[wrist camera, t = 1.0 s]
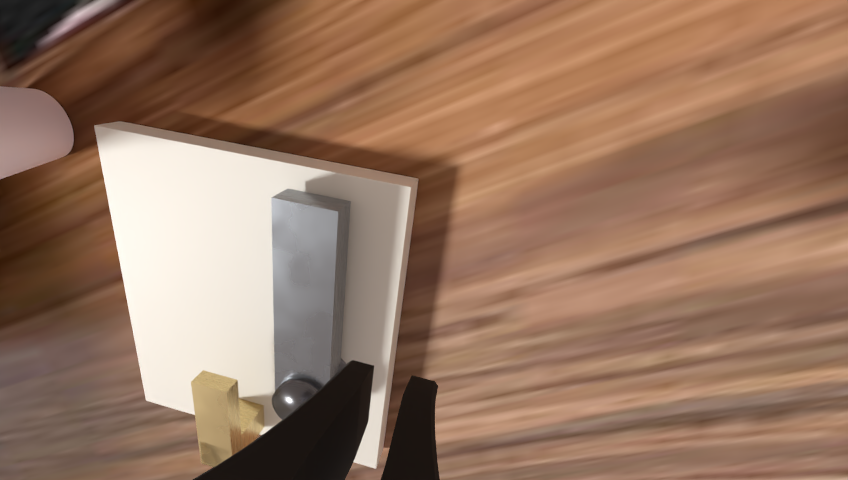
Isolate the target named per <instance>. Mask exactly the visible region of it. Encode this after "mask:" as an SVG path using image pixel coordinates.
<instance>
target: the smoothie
mask: <svg viewBox="0 0 848 480" xmlns="http://www.w3.org/2000/svg"><path fill="white" fill-rule="evenodd" d="M73 142H74V134H73V129H72V125H71V122H70V120H69V118H68V116H67V114H66V112H65V111H64V109H63V108H62V107H61V105H60V104H59V103H58V102H57V101H56V100H55V99H54V98H53V97H51V96H50V95H49V94H47V93H45V92H43V91H41V90H38V89H31V88H15V87H0V179H2V178H5V177H8V176H11V175H13V174H16V173H19V172H22V171H25V170H28V169H30V168H33V167H36V166H39V165H42V164H45V163H47V162H50V161H53V160H56V159H59V158H62V157H64V156H66V155H67V154H68V153H69V152H70V151H71V149H72V147H73Z"/></svg>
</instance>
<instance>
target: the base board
mask: <svg viewBox="0 0 848 480" xmlns="http://www.w3.org/2000/svg"><path fill="white" fill-rule="evenodd" d="M94 128H95V133H96V139H97V144H98V149H99V154H100V160H101V165H102V170H103V176H104V181H105V186H106V191H107V197H108V202H109V207H110V213H111V218H112V223H113V228H114V234H115V239H116V244H117V249H118V255H119V260H120V265H121V271H122V276H123V281H124V286H125V292H126V297H127V302H128V308H129V313H130V318H131V323H132V329H133V334H134V339H135V344H136V350H137V355H138V360H139V366H140V371H141V376H142V381H143V387H144V392H145V397H146V401H150V402H153V403H157V404H160V405H163V406H167V407H170V408H173V409H177V410H180V411H183V412H187V413H190V414H194V415H195V411H194V403H193V395H192V387H191V381H192V380H193V379H194V378H195V377H197V376H198V375H199V374H200V373H201V372H202V371H203V370H204V371H208V372H211V373H215V374H218V375H222V376H226V377H229V378H233V379H236V380H238V392H239V398H240V399H243V400H247V401H250V402H254V403H257V404H261V405H264V428H263V429H262V431H261V432H260V434H261V435H263V434H264V433H266V432H267V431H268V430H270V429H271V428H272V427H274V426H275V425H276V424H278V423H279V422H280V421H282V419H281V418H280V417H279V416H278V415H277V414H276V412H275V410H274V408H273V406H272V396H273V394H274V392H275V364H274V313H273V261H272V210H271V197H273V196H275V195H277V194H279V193H280V192H282V191H284V190H286V189H293V190H298V191H303V192H308V193H313V194H318V195H323V196H328V197H332V198H337V199H342V200H347V201H351V206H350V222H349V238H348V254H347V269H346V285H345V301H344V317H343V333H342V348H341V364H340V370H341V369H342V368H343V367H344V366H345V365H346V364H347V363H348V362H350V361H352V360H355V361H358V362H362V363H366V364H370V365H374V372H373V382H372V391H371V401H370V410H369V420H368V424H367V427H366V429H365V432H364V435H363V438H362V441H361V443H360V446H359V449H358V451H357V454H356V457H355V459H354V461H353V462H355V463H358V464H362V465H365V466H368V467H372V468H375V469H376V467H377V465H378V462H379V459H380V456H381V453H382V451H383V447H384V440H385V432H386V424H387V417H388V409H389V402H390V394H391V386H392V379H393V371H394V363H395V356H396V348H397V341H398V333H399V325H400V318H401V310H402V302H403V295H404V287H405V280H406V272H407V264H408V257H409V249H410V241H411V234H412V226H413V219H414V211H415V203H416V196H417V188H418V181H419V179H418V178H413V177H408V176H403V175H398V174H392V173H387V172H382V171H377V170H372V169H366V168H361V167H356V166H351V165H346V164H340V163H335V162H330V161H325V160H320V159H314V158H309V157H304V156H299V155H294V154H288V153H283V152H278V151H273V150H268V149H262V148H257V147H252V146H247V145H242V144H236V143H231V142H226V141H221V140H216V139H210V138H205V137H200V136H195V135H190V134H184V133H179V132H174V131H169V130H164V129H158V128H153V127H148V126H143V125H137V124H132V123H127V122H122V121H119V122H112V123H105V124H99V125H94Z"/></svg>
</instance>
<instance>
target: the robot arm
mask: <svg viewBox="0 0 848 480" xmlns="http://www.w3.org/2000/svg"><path fill="white" fill-rule="evenodd" d="M373 372H374V365H370V364H366V363H362V362H358V361H355V360H352V361H350V362H348V363H347V364H346V365H345V366H344V367H343V368H342V369H341V370H340V371H339V372H338V373H337V374H336V375H335V376H334V377H333V378H331V379H330V380H329V381H328V382H327V383H326V384H325V385H324V386H323V387H321V388H320V389H319V390H318V391H317V392H316V393H315V394H313V395H312V396H311V397H310V398H309V399H308V400H306V401H305V402H304V403H303V404H302V405H300V406H299V407H298V408H297V409H296V410H294V411H293V412H292V413H291V414H289V415H288V416H287V417H286V418H284V419H283V420H282V421H280V422H279V423H278V424H276V425H275V426H274V427H272V428H271V429H270V430H268V431H267V432H266V433H264V434H263V435H262V436H260V437H259V438H257V439H256V440H255V441H253V442H252V443H250V444H249V445H247V446H246V447H244V448H243V449H242V450H240V451H239V452H237V453H235V454H234V455H232V456H231V457H229V458H228V459H226V460H225V461H223V462H222V463H220V464H218V465H217V466H215V467H213V468H212V469H210V470H208V471H207V472H205V473H203V474H202V475H200V476H198V477H196V478H195V479H193V480H345V478H346V476H347V474H348V472H349V470H350V468H351V466H352V463H353V461H354V459H355V457H356V454H357V451H358V449H359V446H360V443H361V441H362V438H363V435H364V432H365V429H366V427H367V424H368V420H369V410H370V401H371V391H372V382H373ZM437 389H438V385H437V384H436V383H435V381H431V380H427V379H423V378H420V377H416V376H411V379H410V381H409V383H408V385H407V387H406V390H405V392H404V394H403V397H402V401H401V405H400V409H399V413H398V417H397V421H396V425H395V429H394V433H393V437H392V441H391V445H390V449H389V453H388V457H387V461H386V465H385V468H384V472H383V475H382V478H381V480H440V479H439V472H438V463H437V452H436V440H435V400H436V394H437Z"/></svg>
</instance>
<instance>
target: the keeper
mask: <svg viewBox="0 0 848 480" xmlns="http://www.w3.org/2000/svg"><path fill="white" fill-rule="evenodd" d="M191 387H192V395H193V403H194V411H195V419H196V427H197V434H198V442H199V450H200V458H201V463H202V464H205V465H208V466H211V467H215V466H217V465H218V464H220V463H222V462H223V461H225V460H226V459H228V458H229V457H231V456H232V455H234V454H235V453H237V452H239V451H240V450H242V449H243V448H244V447H246V446H247V445H249V444H250V443H252V442H253V441H255V439H256V438H257V436H258V435H259V434H260V432H261V431H262V429H263V428H264V405H261V404H257V403H254V402H250V401H247V400H243V399H240V398H239V392H238V380H236V379H233V378H229V377H226V376H222V375H218V374H215V373H211V372H208V371H204V370H203V371H202V372H201V373H200V374H199V375H198V376H197V377H195V378H194V379H193V380H192V381H191Z"/></svg>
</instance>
